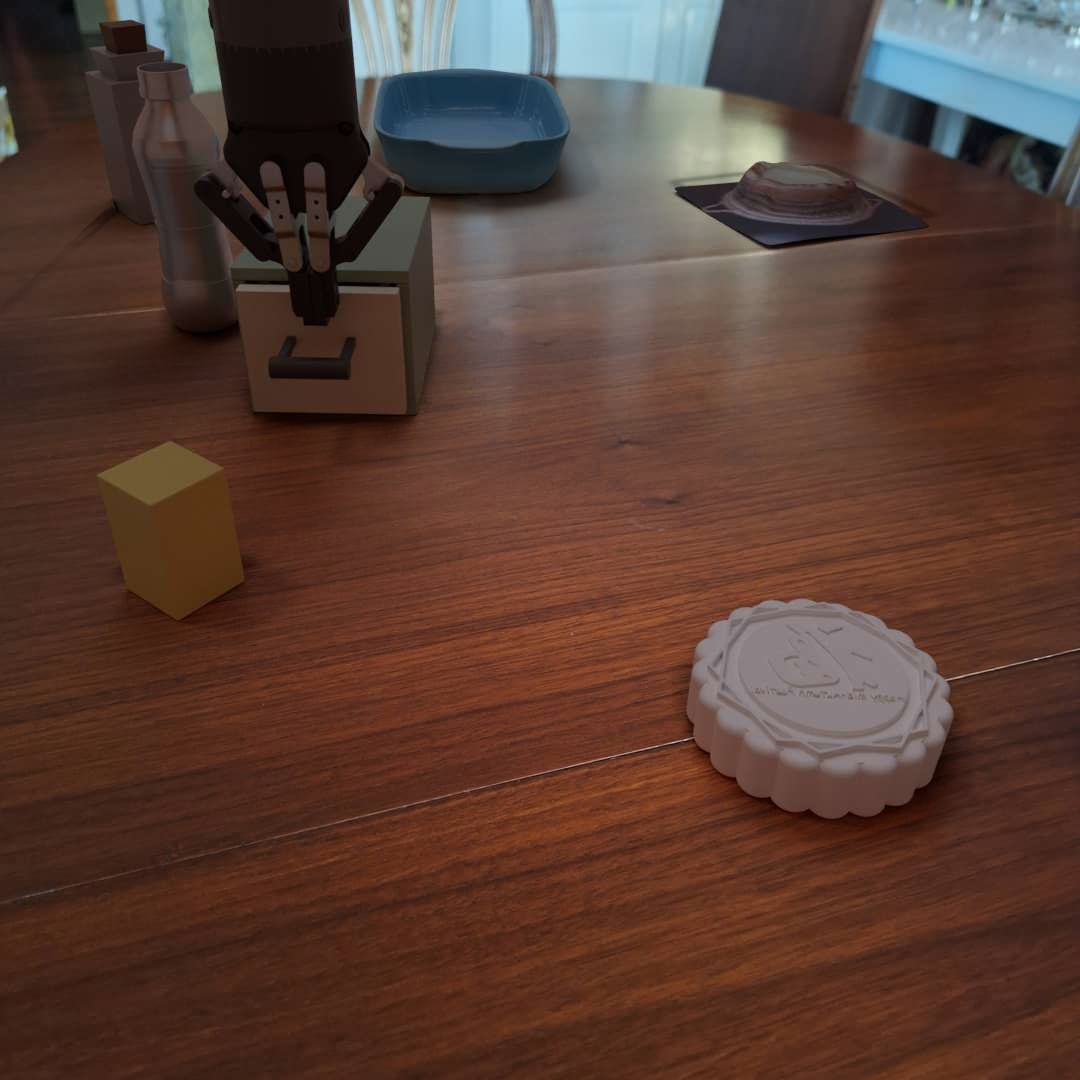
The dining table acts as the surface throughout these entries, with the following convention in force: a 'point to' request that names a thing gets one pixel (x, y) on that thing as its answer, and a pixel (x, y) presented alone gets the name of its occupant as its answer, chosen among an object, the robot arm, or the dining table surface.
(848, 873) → the dining table surface
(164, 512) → the block
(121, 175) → the perfume bottle
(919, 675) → the mooncake
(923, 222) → the round mound on square
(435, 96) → the casserole dish
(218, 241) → the plastic bottle
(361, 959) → the dining table surface
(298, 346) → the drawer
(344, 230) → the cabinet
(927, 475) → the dining table surface
